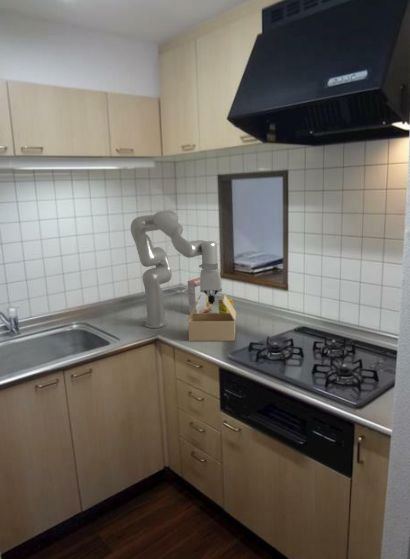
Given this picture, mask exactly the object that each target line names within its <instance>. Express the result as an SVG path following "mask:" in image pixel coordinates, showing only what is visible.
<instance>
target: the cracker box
mask: <svg viewBox="0 0 410 559" xmlns="http://www.w3.org/2000/svg"><path fill="white" fill-rule="evenodd" d="M187 293H188V294H187V295H188V309H189V314H190V313H191V311H192V309H193V307H194V305H195V304H196V302H197V300H198V298H199V296H200V295H201V297H200V299H199V301H198V303H197V305H196V307H195V309H194V311H193V313H205V312H206V313H208V312H210V310H211V311H212V303H211V304H210V302H208V296H207V294H205V293H203V292H200V276H199V277H196V278H193V279H190V280H187ZM207 311H208V312H207ZM191 315H192V314H191Z"/></svg>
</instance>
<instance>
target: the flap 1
mask: <svg viewBox="0 0 410 559" xmlns="http://www.w3.org/2000/svg"><path fill="white" fill-rule="evenodd" d="M200 297H201V295H200V296H199V298H198V300H197V302H196V304H195V305H194V307H193V309H192V311H191V313H190V312H189V315H188V318H187V320H186V321H187V322H189V319H190V317H191V314H192V313H193V311H194V309H195V307H196V305H197V303H198V301H199V299H200Z"/></svg>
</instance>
